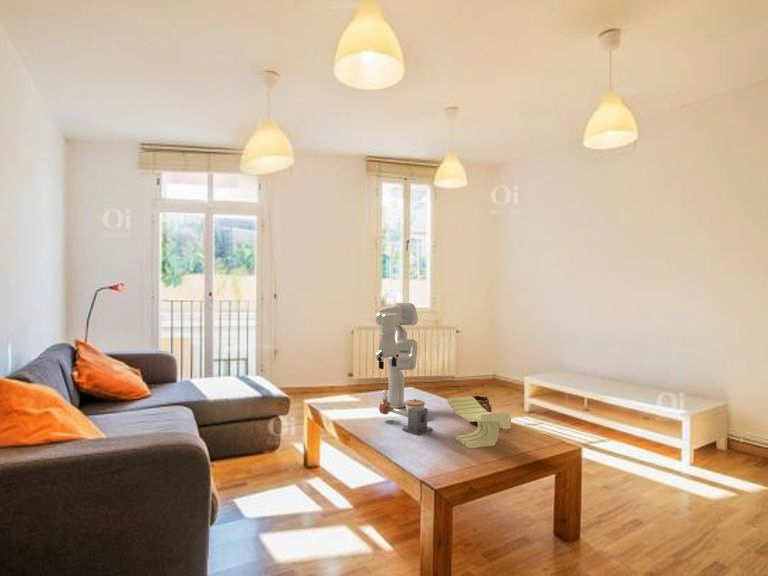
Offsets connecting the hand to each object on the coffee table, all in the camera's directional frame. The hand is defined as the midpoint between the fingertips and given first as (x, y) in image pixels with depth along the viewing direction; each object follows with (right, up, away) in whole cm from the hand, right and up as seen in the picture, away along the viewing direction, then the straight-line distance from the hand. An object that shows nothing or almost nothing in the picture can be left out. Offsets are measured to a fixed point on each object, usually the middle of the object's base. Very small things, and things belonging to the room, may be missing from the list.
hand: (387, 367), depth 248 cm
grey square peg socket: (+15, -29, -18) cm, 37 cm away
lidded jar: (+16, -29, +7) cm, 34 cm away
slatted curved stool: (+42, -30, -33) cm, 62 cm away
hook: (+4, -26, -7) cm, 27 cm away
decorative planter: (+49, -30, -6) cm, 58 cm away
